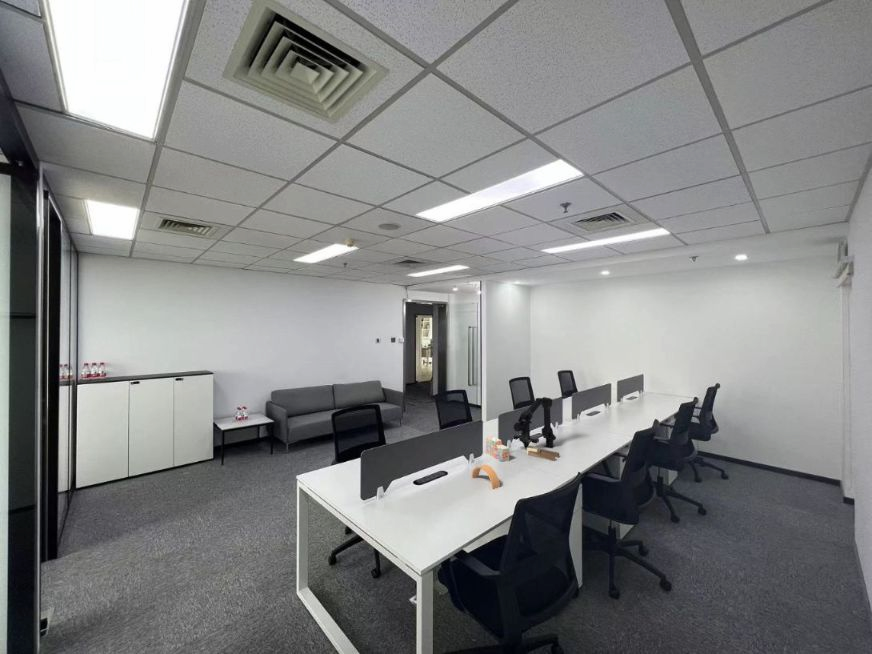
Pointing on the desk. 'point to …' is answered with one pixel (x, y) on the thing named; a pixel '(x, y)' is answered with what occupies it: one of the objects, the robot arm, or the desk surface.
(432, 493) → the desk surface
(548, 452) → the walnut chute
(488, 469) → the arch
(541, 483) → the desk surface
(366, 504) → the desk surface
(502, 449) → the stack of blocks
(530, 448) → the block
